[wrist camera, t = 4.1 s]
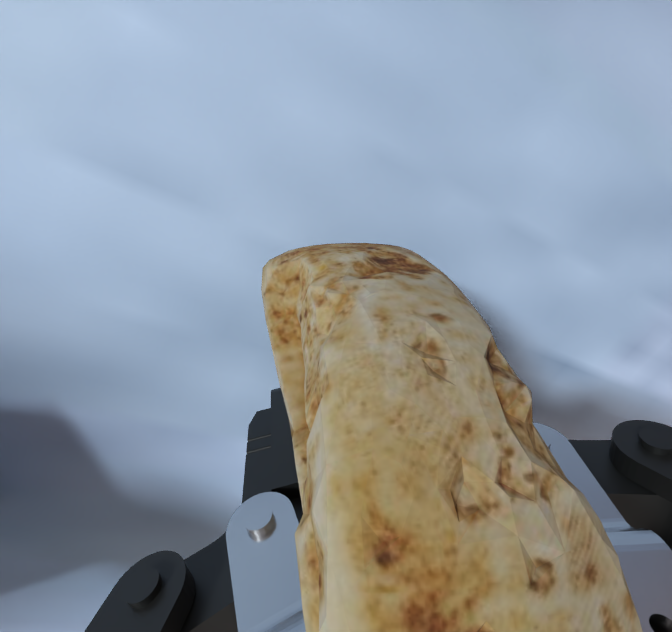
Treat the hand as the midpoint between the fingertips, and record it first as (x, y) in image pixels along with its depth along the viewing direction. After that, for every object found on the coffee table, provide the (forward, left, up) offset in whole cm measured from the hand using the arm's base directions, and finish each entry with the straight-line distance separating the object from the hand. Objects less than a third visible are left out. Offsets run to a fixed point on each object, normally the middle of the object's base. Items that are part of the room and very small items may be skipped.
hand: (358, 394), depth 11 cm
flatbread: (0, 0, -2) cm, 2 cm away
